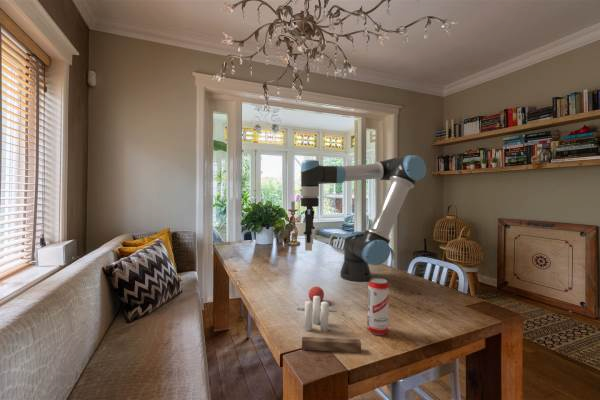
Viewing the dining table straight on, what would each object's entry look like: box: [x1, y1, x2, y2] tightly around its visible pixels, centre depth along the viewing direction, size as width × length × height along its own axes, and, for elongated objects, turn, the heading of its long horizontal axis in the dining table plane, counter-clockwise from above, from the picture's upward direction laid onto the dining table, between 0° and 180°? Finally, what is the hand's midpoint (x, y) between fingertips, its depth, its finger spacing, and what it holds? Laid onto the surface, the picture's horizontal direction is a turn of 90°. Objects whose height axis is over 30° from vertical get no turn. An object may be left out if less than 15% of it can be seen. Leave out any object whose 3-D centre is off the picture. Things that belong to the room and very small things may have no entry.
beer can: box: [366, 277, 390, 336], centre depth 88 cm, size 6×6×16 cm
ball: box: [308, 285, 325, 302], centre depth 110 cm, size 6×6×6 cm
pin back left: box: [304, 300, 313, 332], centre depth 88 cm, size 2×2×8 cm
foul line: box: [296, 307, 337, 312], centre depth 103 cm, size 14×2×1 cm, turn 87°
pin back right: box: [320, 301, 330, 333], centre depth 88 cm, size 2×2×8 cm
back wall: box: [301, 336, 362, 353], centre depth 78 cm, size 16×2×2 cm, turn 87°
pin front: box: [312, 296, 321, 325], centre depth 93 cm, size 2×2×8 cm
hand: (309, 247), depth 120 cm, fingers open, 13 cm apart
